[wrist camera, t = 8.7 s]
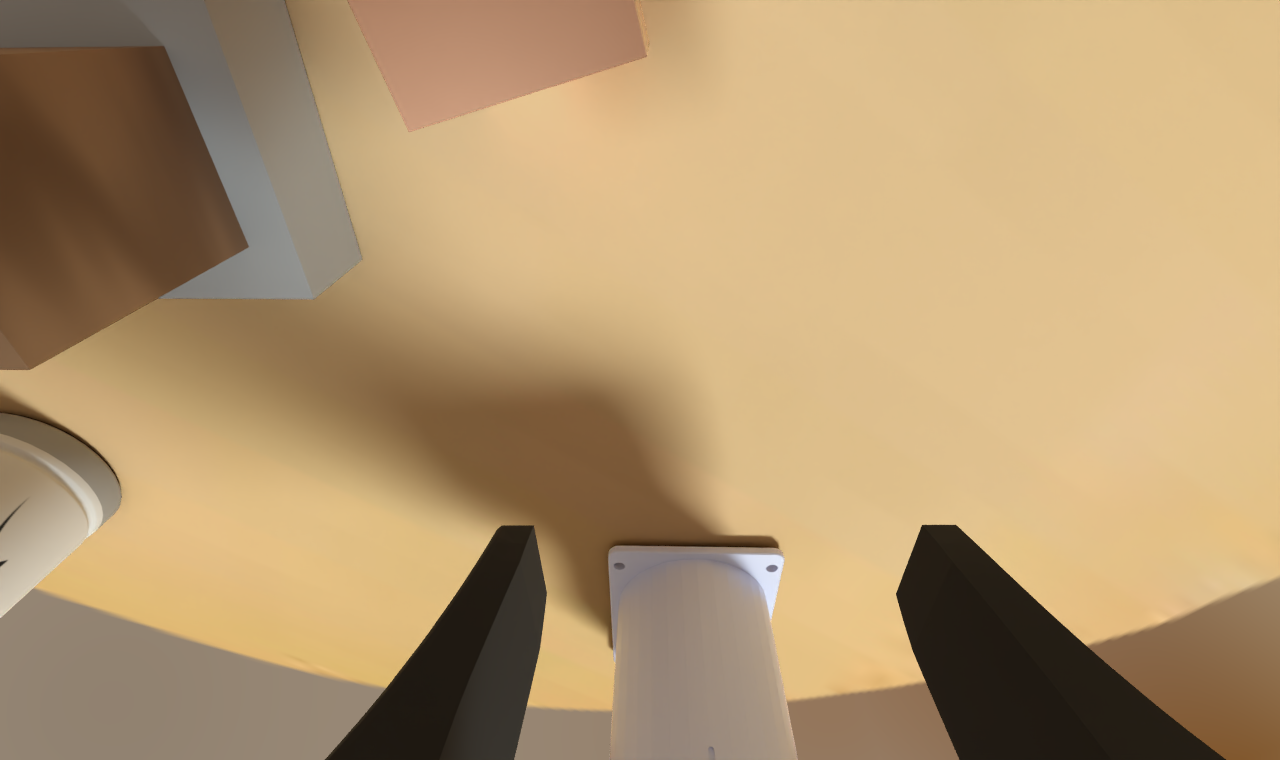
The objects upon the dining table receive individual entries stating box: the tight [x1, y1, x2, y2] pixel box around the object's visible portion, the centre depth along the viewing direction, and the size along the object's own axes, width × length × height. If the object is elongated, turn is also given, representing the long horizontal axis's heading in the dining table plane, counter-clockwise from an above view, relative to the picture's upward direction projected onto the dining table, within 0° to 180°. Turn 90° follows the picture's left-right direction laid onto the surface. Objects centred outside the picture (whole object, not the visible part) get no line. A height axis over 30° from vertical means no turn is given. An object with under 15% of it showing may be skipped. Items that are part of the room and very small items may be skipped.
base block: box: [0, 0, 362, 299], centre depth 14 cm, size 7×7×3 cm
